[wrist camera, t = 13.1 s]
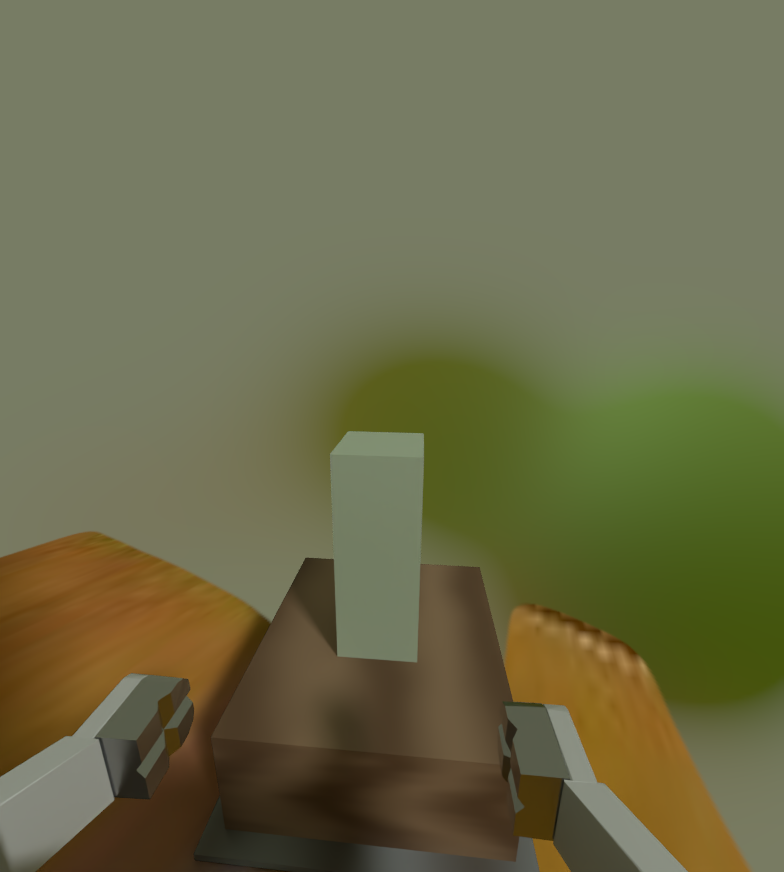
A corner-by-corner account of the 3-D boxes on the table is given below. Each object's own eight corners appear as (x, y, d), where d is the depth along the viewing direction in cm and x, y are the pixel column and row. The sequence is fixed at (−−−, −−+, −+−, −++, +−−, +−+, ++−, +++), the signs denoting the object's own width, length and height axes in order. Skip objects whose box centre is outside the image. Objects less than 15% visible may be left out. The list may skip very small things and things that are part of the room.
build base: (194, 859, 17) (175, 759, 16) (302, 613, 33) (297, 550, 31) (543, 902, 16) (562, 798, 14) (484, 625, 31) (490, 560, 30)
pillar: (337, 656, 21) (330, 454, 18) (352, 601, 25) (348, 431, 22) (417, 662, 20) (423, 457, 17) (418, 605, 25) (423, 433, 22)
